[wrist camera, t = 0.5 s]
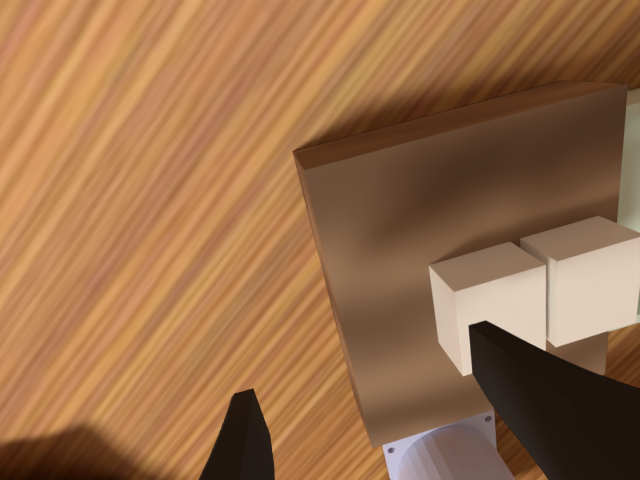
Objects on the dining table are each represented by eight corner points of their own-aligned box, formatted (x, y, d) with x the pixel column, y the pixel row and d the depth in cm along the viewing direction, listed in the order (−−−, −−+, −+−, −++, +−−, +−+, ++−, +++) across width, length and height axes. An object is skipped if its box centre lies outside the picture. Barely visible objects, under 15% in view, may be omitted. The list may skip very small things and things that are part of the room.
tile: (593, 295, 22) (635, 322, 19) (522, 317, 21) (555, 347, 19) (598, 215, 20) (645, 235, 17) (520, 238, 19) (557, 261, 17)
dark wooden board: (556, 333, 28) (604, 373, 24) (354, 396, 27) (372, 448, 23) (561, 80, 21) (628, 83, 17) (292, 151, 20) (304, 170, 16)
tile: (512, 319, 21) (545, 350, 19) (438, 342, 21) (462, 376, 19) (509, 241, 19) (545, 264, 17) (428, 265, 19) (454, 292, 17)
